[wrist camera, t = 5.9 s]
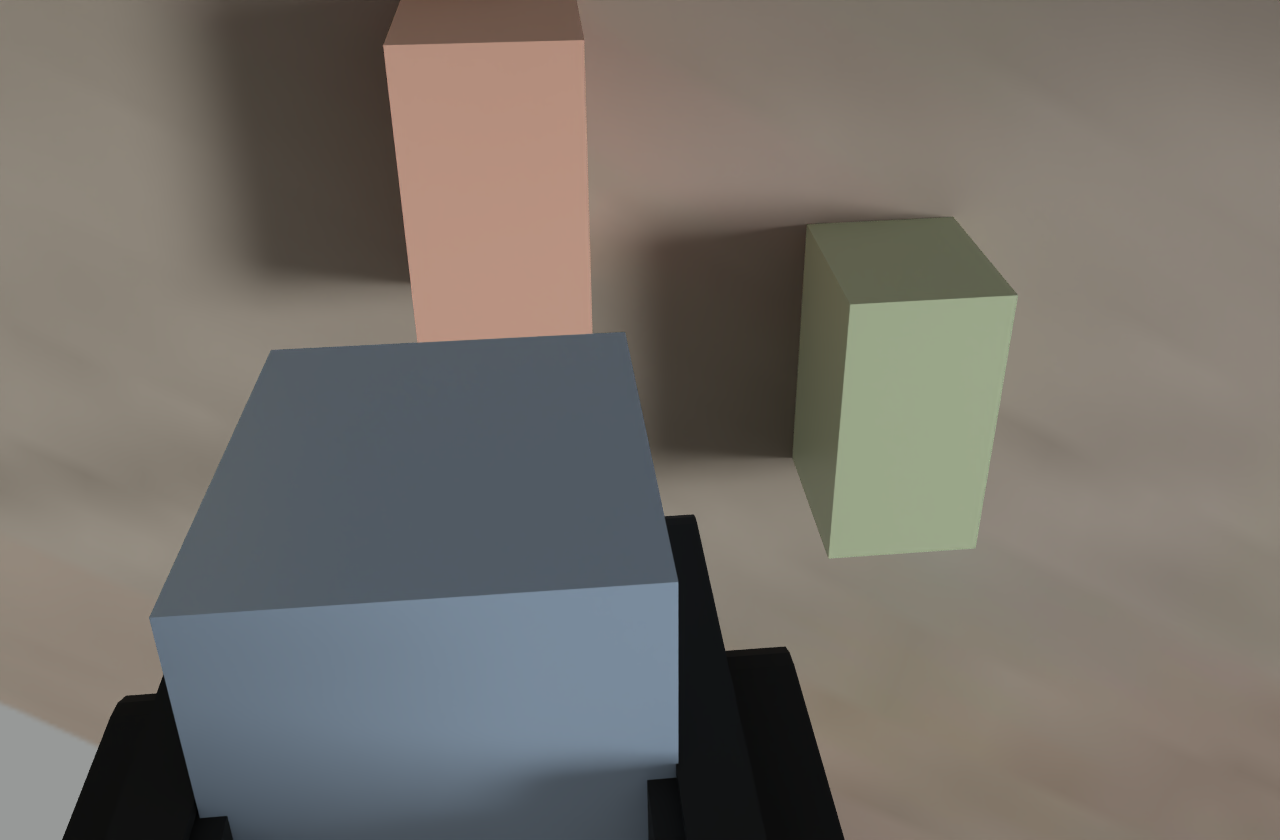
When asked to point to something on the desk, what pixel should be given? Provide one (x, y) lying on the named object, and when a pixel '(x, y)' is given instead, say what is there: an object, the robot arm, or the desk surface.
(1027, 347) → the desk surface
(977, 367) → the olive brick
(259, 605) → the blue brick
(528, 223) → the terracotta brick
